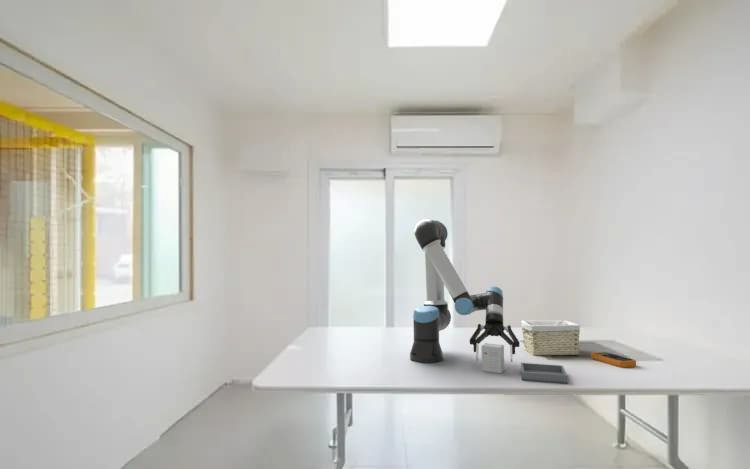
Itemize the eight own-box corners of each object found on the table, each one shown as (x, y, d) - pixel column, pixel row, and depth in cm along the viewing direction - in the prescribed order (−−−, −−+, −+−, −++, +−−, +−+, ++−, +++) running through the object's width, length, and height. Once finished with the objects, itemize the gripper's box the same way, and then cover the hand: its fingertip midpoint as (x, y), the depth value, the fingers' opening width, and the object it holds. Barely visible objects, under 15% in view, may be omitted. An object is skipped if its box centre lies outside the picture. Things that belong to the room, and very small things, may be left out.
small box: (504, 370, 178) (504, 344, 179) (501, 373, 173) (500, 347, 174) (485, 368, 182) (485, 342, 183) (481, 371, 178) (481, 345, 178)
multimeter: (623, 369, 181) (623, 361, 181) (590, 359, 198) (589, 352, 198) (639, 367, 184) (638, 359, 184) (604, 358, 201) (604, 350, 201)
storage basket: (531, 356, 203) (530, 324, 204) (520, 348, 220) (519, 319, 220) (582, 356, 203) (581, 324, 204) (567, 349, 219) (566, 319, 220)
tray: (521, 380, 165) (521, 372, 165) (521, 370, 179) (520, 362, 179) (567, 383, 160) (567, 375, 160) (562, 373, 174) (562, 365, 174)
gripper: (524, 323, 190) (526, 366, 175) (466, 321, 198) (463, 362, 182) (524, 312, 185) (526, 356, 170) (465, 311, 193) (462, 352, 178)
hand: (494, 359), depth 176 cm, fingers open, 13 cm apart
